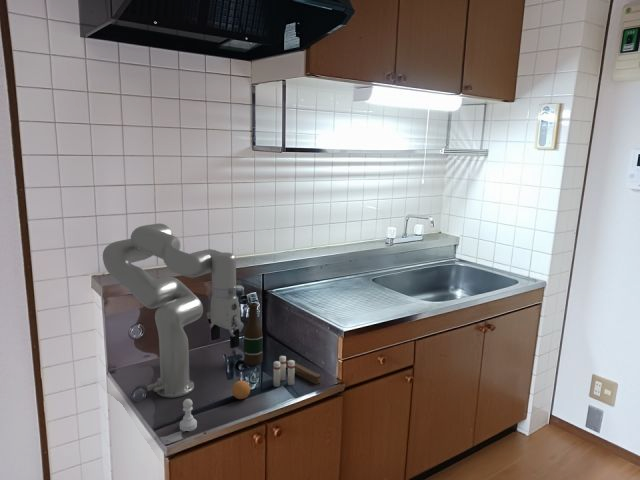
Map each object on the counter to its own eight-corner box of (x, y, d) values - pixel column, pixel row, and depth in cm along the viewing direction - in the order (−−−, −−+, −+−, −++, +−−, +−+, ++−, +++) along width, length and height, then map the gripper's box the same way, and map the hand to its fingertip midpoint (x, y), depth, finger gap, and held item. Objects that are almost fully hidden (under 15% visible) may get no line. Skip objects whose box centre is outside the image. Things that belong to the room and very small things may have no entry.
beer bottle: (259, 366, 190) (259, 307, 186) (240, 364, 192) (239, 305, 188) (265, 359, 198) (265, 301, 194) (247, 357, 199) (247, 300, 195)
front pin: (276, 387, 174) (276, 364, 172) (271, 384, 175) (271, 362, 174) (281, 385, 175) (281, 362, 174) (277, 382, 177) (277, 360, 176)
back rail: (316, 384, 176) (316, 376, 176) (285, 368, 189) (285, 361, 189) (320, 383, 177) (320, 375, 177) (289, 366, 191) (289, 359, 190)
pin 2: (290, 386, 175) (290, 363, 173) (286, 383, 177) (286, 361, 175) (295, 383, 176) (296, 361, 175) (291, 381, 178) (291, 359, 177)
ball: (238, 404, 161) (238, 387, 160) (228, 397, 166) (228, 381, 165) (253, 398, 165) (253, 381, 164) (243, 392, 170) (243, 375, 169)
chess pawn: (190, 421, 151) (189, 393, 149) (200, 427, 147) (199, 399, 146) (176, 427, 147) (175, 399, 145) (186, 433, 144) (185, 405, 142)
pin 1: (281, 381, 178) (282, 359, 177) (277, 378, 180) (277, 356, 179) (287, 379, 180) (287, 357, 179) (283, 376, 182) (283, 355, 180)
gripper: (251, 294, 152) (251, 347, 155) (216, 284, 164) (217, 333, 166) (232, 299, 147) (233, 353, 150) (197, 289, 158) (199, 339, 161)
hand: (224, 343), depth 158 cm, fingers open, 9 cm apart
